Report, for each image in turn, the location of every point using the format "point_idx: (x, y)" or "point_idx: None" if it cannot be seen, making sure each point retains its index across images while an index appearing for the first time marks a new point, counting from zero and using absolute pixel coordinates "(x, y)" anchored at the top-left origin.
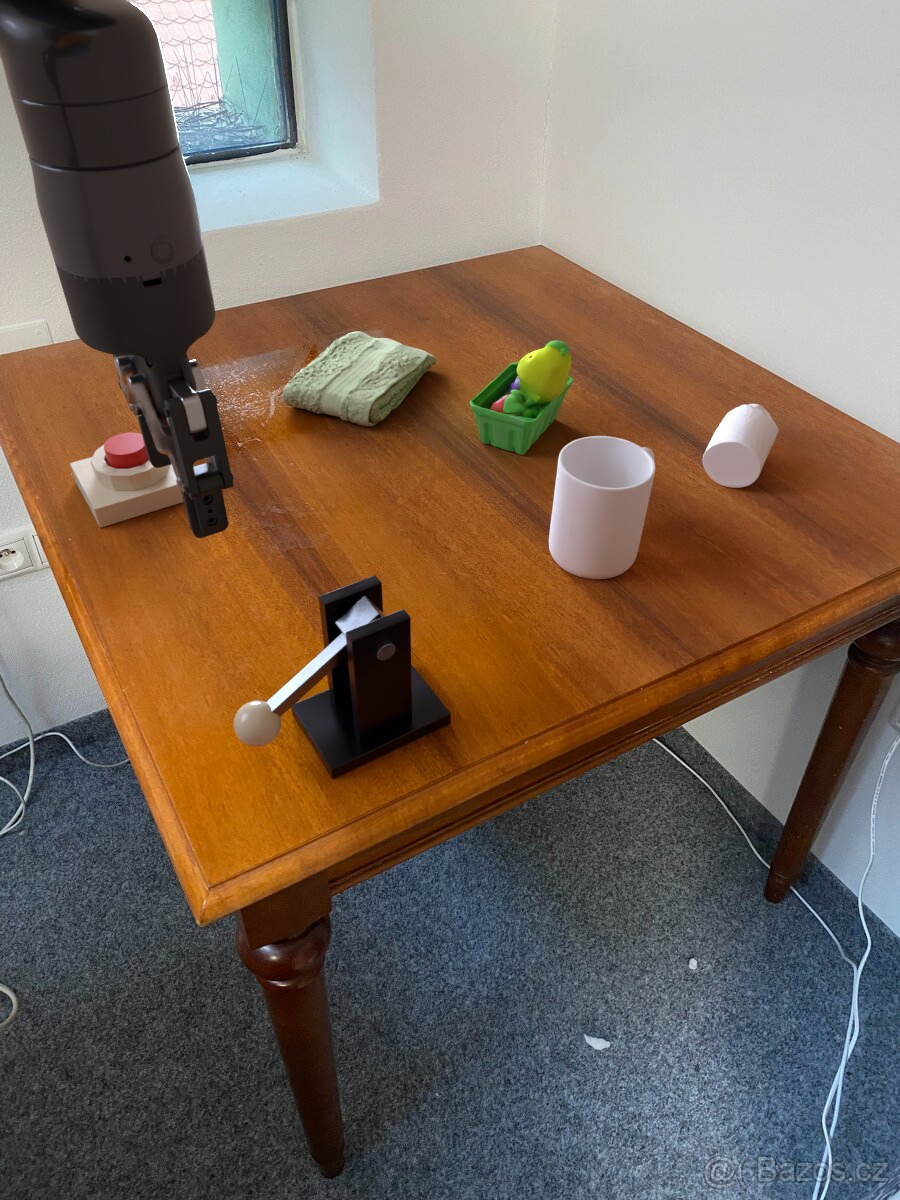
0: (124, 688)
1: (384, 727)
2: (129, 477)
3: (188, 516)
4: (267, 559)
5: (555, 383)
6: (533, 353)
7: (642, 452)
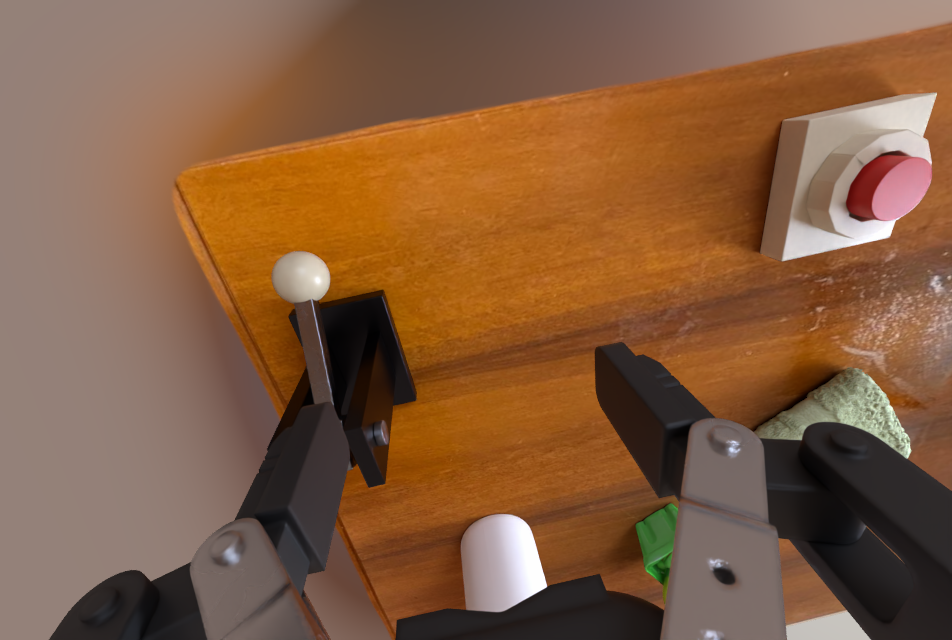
0: (479, 116)
1: None
2: (832, 182)
3: (297, 437)
4: (615, 304)
5: None
6: None
7: None
